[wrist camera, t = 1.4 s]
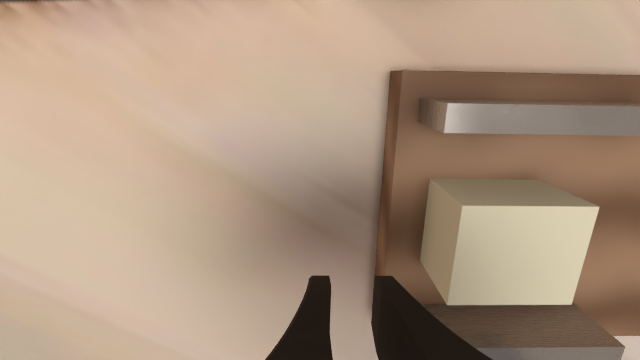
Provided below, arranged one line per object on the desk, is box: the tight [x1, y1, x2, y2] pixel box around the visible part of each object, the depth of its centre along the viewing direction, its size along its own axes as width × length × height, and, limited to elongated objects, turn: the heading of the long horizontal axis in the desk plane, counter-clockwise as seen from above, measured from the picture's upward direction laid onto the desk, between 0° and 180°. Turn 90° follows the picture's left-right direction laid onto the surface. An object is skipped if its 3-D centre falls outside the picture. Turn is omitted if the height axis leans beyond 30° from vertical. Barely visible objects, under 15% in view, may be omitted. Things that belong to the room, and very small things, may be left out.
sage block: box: [420, 178, 599, 305], centre depth 17 cm, size 5×6×4 cm
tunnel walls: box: [418, 98, 640, 360], centre depth 17 cm, size 13×11×4 cm
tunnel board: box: [372, 70, 640, 336], centre depth 20 cm, size 16×31×2 cm, turn 89°
